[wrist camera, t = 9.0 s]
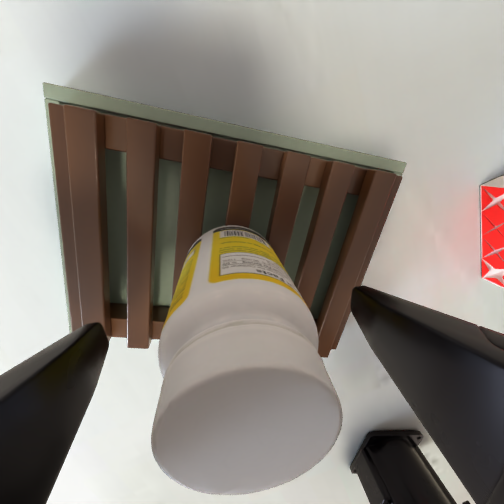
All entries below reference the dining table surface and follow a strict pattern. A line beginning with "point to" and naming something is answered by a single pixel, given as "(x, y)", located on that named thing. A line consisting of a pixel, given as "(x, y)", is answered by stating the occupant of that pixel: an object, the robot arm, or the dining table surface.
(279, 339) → the supplement bottle
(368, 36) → the dining table surface
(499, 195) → the red and white cube
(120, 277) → the drip tray
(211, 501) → the dining table surface
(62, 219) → the drying rack
